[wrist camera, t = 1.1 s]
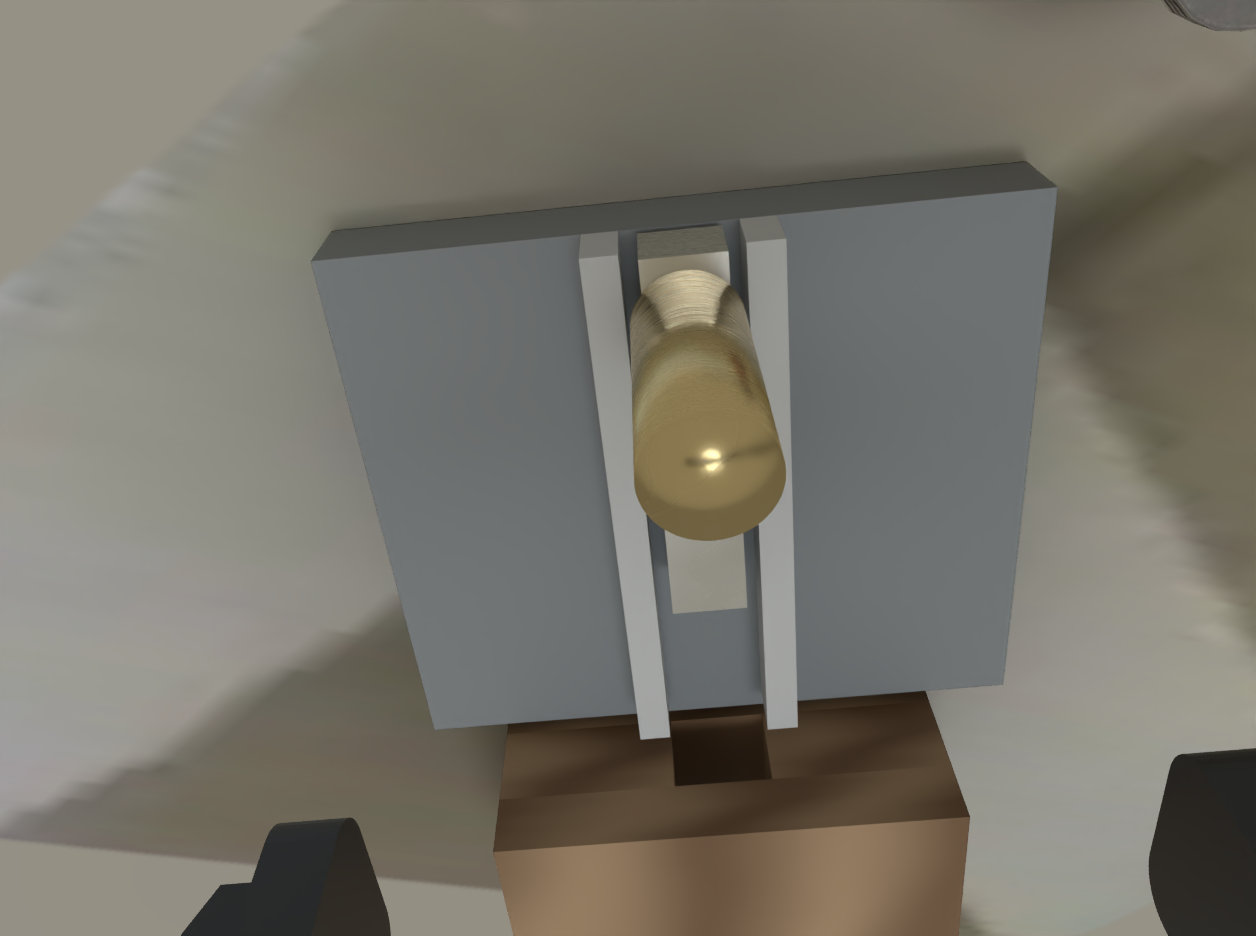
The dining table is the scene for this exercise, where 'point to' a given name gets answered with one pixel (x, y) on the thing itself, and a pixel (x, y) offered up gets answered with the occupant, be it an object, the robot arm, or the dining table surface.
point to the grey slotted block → (603, 444)
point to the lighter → (1216, 13)
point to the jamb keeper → (735, 824)
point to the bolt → (699, 417)
